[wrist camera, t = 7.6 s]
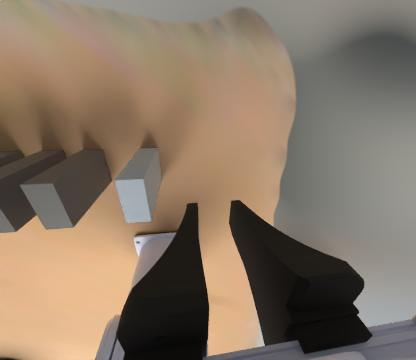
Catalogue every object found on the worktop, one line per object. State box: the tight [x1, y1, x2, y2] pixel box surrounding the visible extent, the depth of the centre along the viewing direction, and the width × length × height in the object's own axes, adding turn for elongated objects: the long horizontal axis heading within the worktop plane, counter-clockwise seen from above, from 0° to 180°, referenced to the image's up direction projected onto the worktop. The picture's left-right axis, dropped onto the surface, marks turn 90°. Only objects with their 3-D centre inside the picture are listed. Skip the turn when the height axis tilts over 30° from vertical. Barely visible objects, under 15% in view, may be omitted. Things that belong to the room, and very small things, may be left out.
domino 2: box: [20, 149, 112, 230], centre depth 16 cm, size 2×4×8 cm, turn 179°
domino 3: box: [114, 148, 162, 223], centre depth 16 cm, size 2×4×8 cm, turn 179°
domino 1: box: [0, 150, 66, 233], centre depth 15 cm, size 2×4×8 cm, turn 179°
